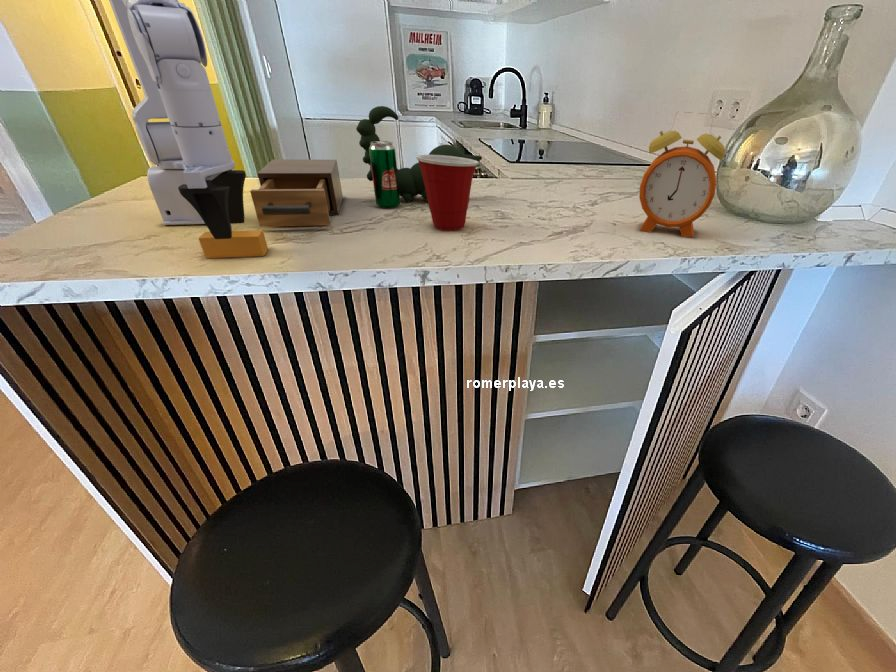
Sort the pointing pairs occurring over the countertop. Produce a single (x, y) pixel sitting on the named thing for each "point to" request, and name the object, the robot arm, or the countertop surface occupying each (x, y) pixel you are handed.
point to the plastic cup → (447, 188)
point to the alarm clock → (679, 182)
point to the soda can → (384, 174)
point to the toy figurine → (407, 177)
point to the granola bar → (234, 244)
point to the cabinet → (307, 175)
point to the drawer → (292, 202)
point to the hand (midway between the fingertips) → (230, 230)
